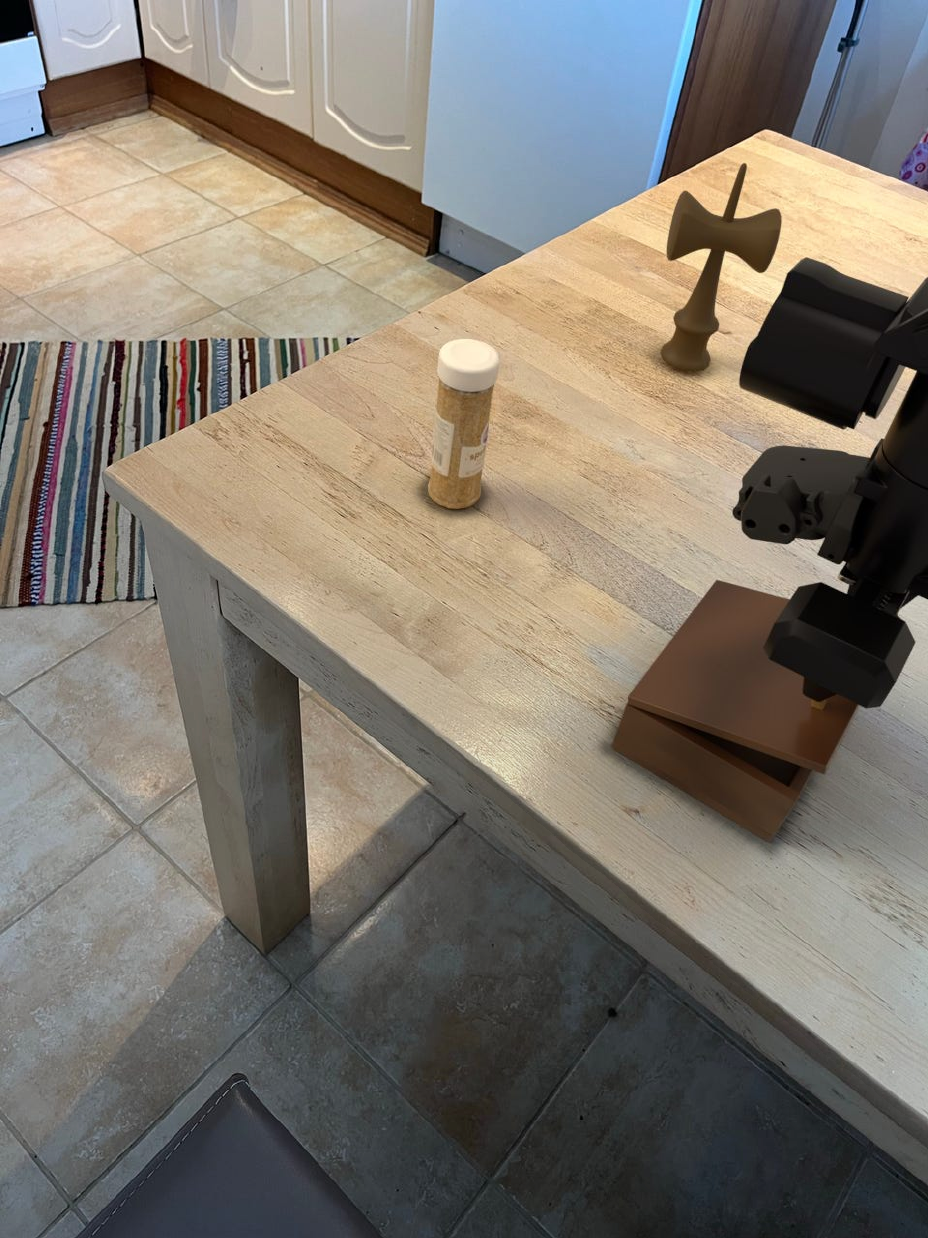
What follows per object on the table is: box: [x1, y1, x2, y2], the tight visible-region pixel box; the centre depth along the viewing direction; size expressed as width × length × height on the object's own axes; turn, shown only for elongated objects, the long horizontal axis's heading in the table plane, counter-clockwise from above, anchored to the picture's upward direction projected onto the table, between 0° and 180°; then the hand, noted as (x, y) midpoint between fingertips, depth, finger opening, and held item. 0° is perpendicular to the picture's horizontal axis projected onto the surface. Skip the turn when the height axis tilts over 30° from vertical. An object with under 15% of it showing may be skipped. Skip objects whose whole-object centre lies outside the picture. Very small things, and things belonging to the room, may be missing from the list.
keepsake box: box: [610, 702, 814, 843], centre depth 64 cm, size 12×14×5 cm
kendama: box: [660, 162, 783, 373], centre depth 90 cm, size 6×10×20 cm, turn 81°
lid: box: [627, 579, 861, 775], centre depth 59 cm, size 12×14×4 cm
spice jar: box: [427, 338, 500, 510], centre depth 75 cm, size 5×5×13 cm
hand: (828, 666), depth 58 cm, fingers closed on lid, 5 cm apart
